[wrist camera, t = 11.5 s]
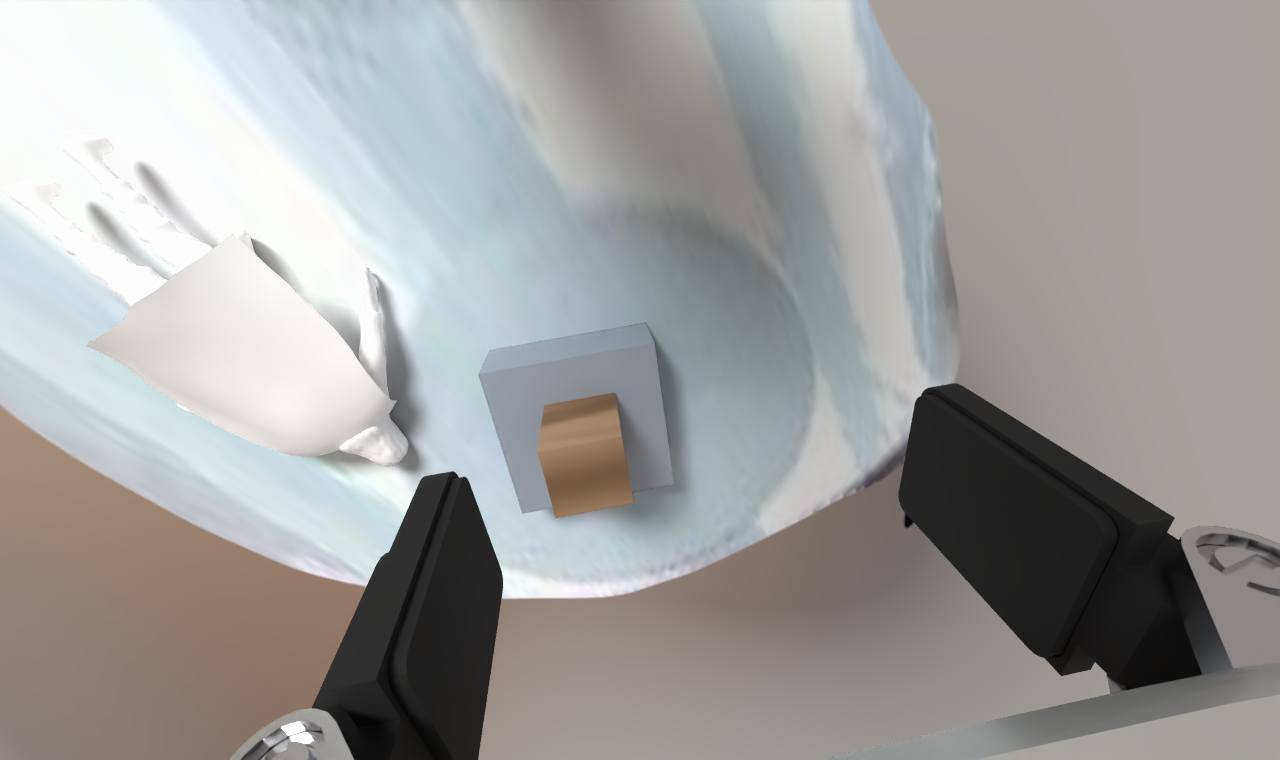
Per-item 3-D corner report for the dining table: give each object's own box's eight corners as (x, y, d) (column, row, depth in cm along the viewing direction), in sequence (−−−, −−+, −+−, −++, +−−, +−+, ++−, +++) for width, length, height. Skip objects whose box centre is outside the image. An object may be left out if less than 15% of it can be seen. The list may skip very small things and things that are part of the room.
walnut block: (544, 405, 33) (537, 452, 27) (614, 392, 33) (621, 436, 28) (559, 463, 35) (555, 518, 30) (625, 451, 35) (633, 503, 30)
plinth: (490, 348, 36) (478, 374, 31) (645, 321, 37) (654, 342, 32) (528, 475, 41) (522, 513, 36) (663, 450, 42) (674, 484, 37)
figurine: (3, 243, 29) (329, 498, 40) (-203, 273, 21) (271, 580, 32) (202, 75, 27) (490, 392, 38) (54, 41, 19) (470, 452, 30)
